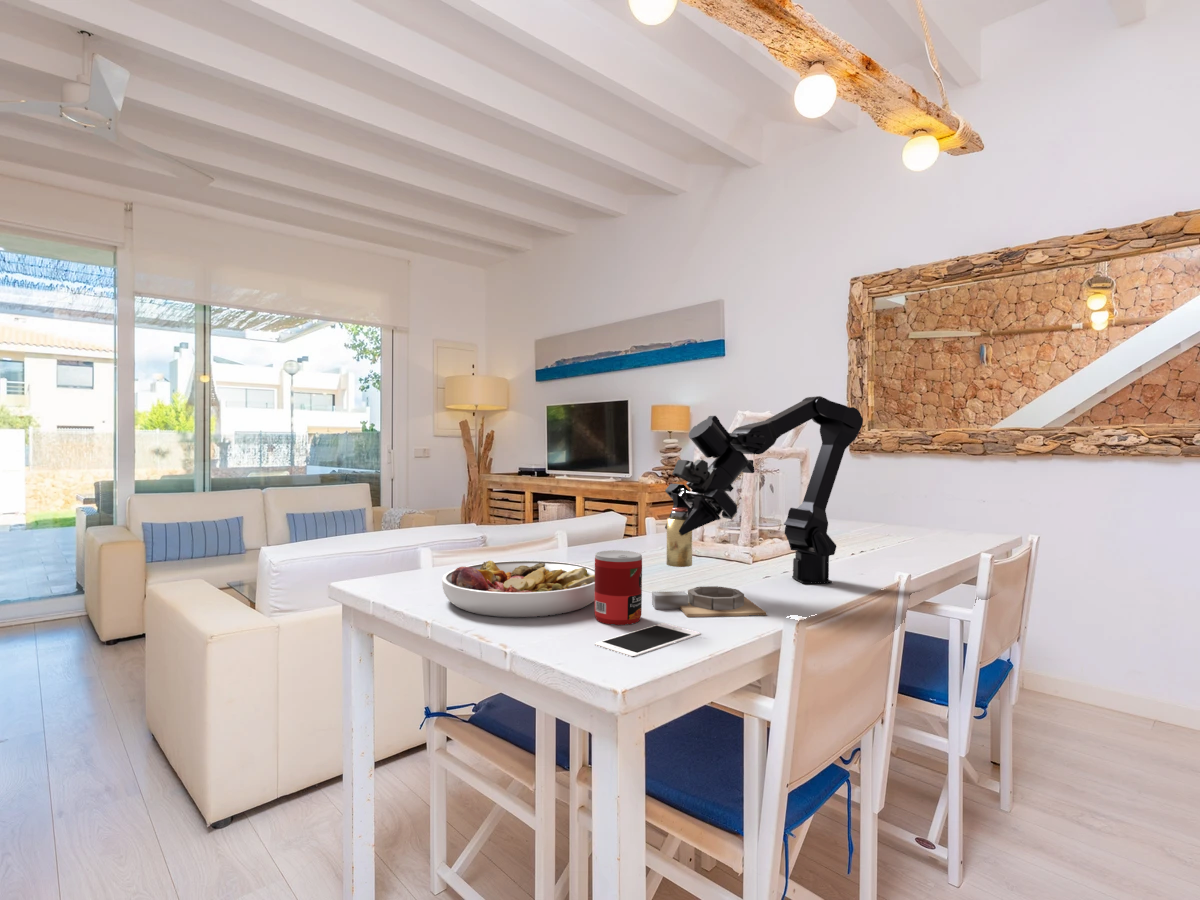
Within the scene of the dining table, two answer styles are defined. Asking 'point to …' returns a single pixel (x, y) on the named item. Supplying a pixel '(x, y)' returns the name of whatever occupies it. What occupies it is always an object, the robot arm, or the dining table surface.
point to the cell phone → (647, 639)
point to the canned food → (618, 587)
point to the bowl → (520, 588)
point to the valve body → (678, 540)
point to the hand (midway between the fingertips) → (673, 531)
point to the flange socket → (707, 602)
